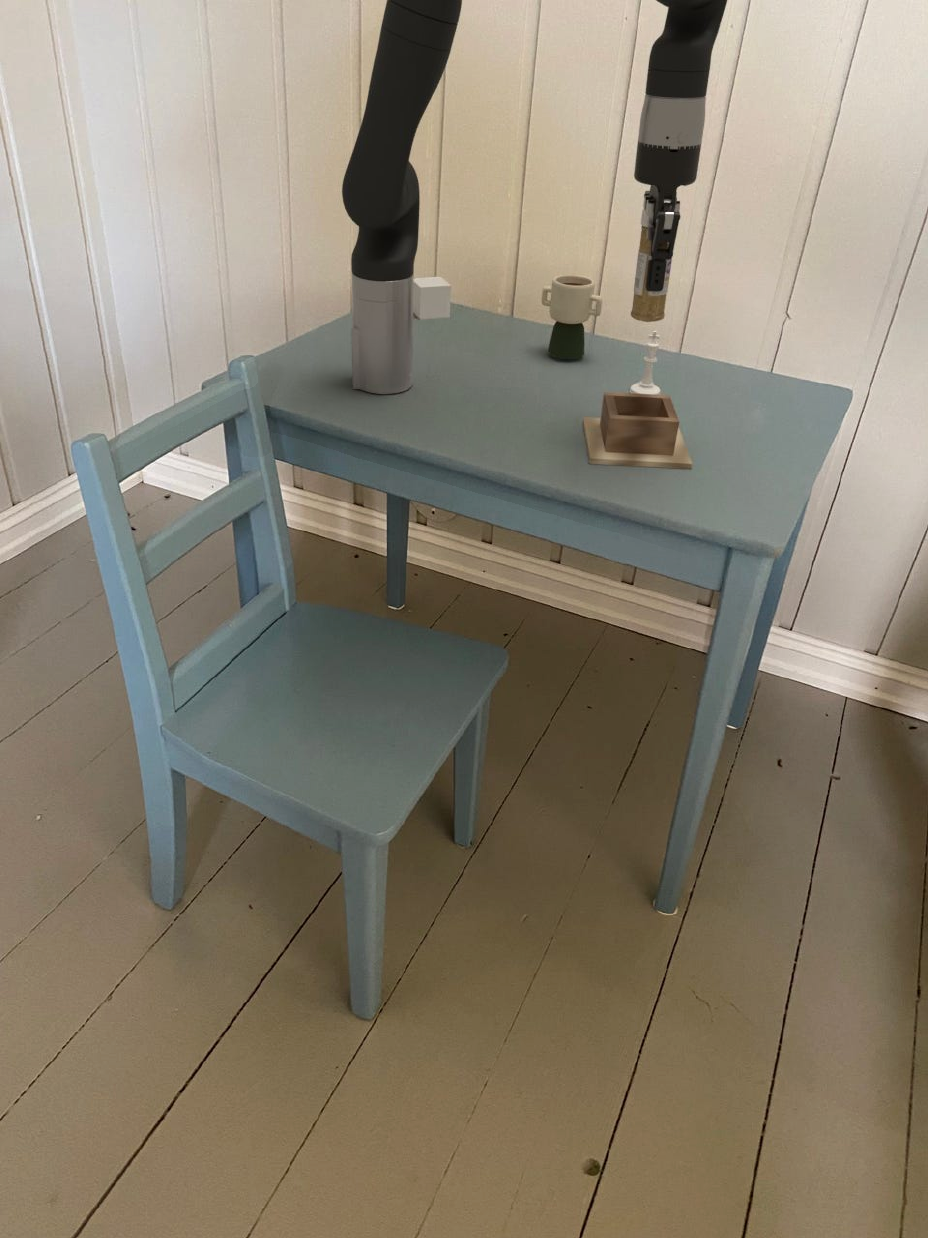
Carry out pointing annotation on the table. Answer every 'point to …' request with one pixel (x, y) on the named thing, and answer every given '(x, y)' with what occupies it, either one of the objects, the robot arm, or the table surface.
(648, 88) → the robot arm
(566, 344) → the character mug
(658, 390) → the chess piece
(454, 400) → the table surface
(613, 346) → the table surface
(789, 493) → the table surface
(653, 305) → the sprinkles bottle
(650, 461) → the socket
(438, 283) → the white cube
